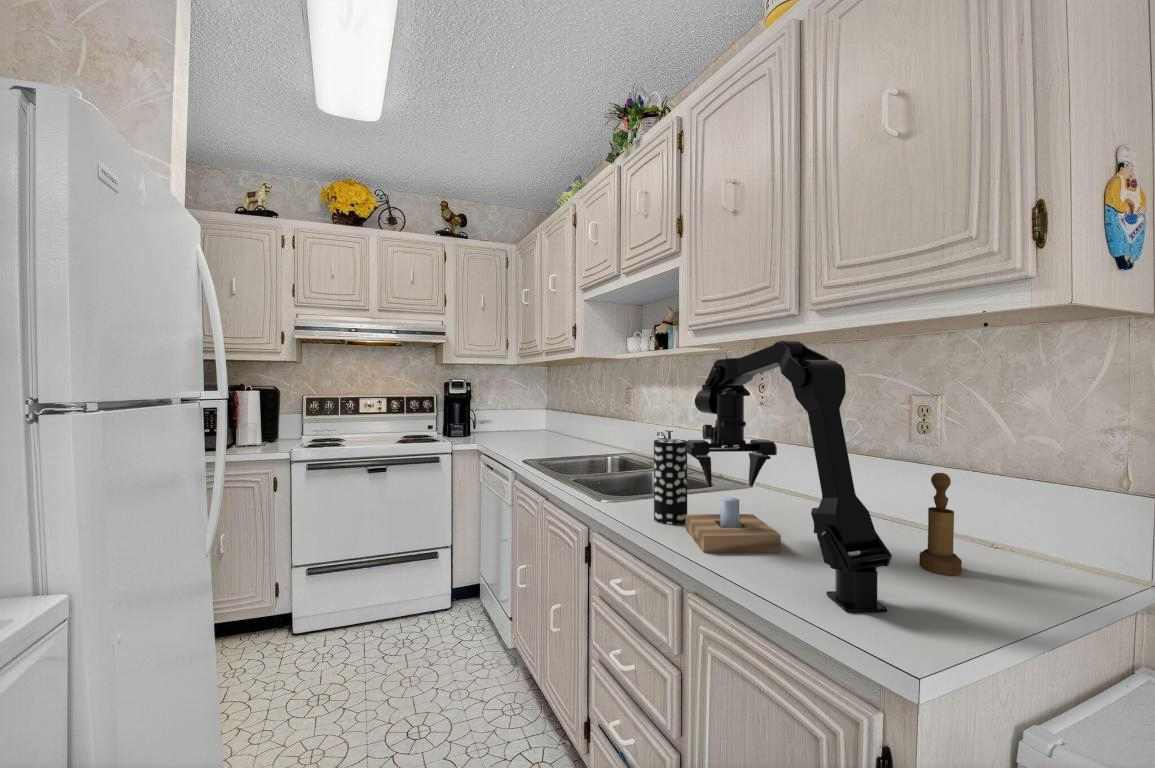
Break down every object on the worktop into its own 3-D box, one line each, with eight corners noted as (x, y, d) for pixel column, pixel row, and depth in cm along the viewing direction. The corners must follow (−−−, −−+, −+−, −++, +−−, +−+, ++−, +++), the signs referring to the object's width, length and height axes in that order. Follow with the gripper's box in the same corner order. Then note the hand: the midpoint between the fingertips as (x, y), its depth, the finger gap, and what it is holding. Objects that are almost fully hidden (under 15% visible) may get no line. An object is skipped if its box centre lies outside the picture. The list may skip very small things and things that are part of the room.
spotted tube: (652, 523, 126) (652, 442, 126) (655, 514, 134) (655, 438, 134) (686, 525, 124) (686, 443, 124) (687, 516, 132) (687, 439, 132)
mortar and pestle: (969, 576, 92) (970, 477, 92) (929, 574, 93) (929, 476, 93) (950, 563, 98) (951, 470, 98) (913, 561, 100) (913, 469, 99)
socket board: (780, 551, 105) (780, 534, 105) (703, 552, 105) (703, 535, 105) (752, 528, 121) (752, 514, 121) (685, 529, 121) (685, 514, 121)
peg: (741, 542, 111) (741, 501, 111) (723, 542, 111) (723, 501, 111) (735, 536, 115) (735, 497, 115) (718, 537, 115) (718, 497, 115)
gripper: (758, 413, 121) (758, 478, 121) (680, 413, 121) (680, 479, 121) (777, 417, 110) (777, 489, 110) (691, 417, 109) (691, 489, 110)
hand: (730, 486), depth 113 cm, fingers open, 9 cm apart
